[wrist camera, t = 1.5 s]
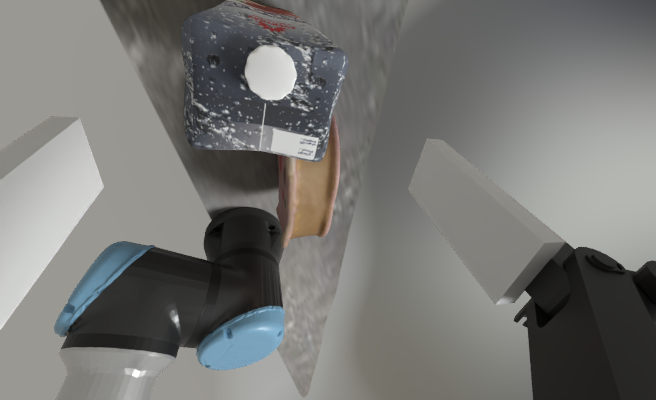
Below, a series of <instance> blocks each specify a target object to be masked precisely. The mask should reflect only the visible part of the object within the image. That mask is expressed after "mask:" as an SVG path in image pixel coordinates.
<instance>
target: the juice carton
mask: <svg viewBox="0 0 656 400" xmlns="http://www.w3.org/2000/svg"><path fill="white" fill-rule="evenodd" d="M181 46H182V54H183V60H184V66H185V73H186V81H185V95H184V127H185V134H186V137H187V140H188V142H189V144H190V145H191V147H193V148H197V149H208V150H252V151H263V152H269V153H274V154H278V155H283V156H287V157H291V158H295V159H300V160H304V161H310V162H320V161H321V160H322V159H323V157H324V155H325V153H326V150H327V146H328V140H329V133H330V127H331V120H332V115H333V111H334V108H335V104H336V101H337V98H338V95H339V93H340V90H341V87H342V84H343V81H344V78H345V75H346V72H347V68H348V57H347V54H346V53H345V52H344V51H343V50H342V49H340V48H339V47H338V46H336V45H335V44H334V43H333V42H332V41H330V40H329V39H328V38H327V37H326V36H324V35H323V34H322V33H321V32H320V31H319V30H317V29H316V28H315V27H313V26H312V25H310V24H309V23H307V22H306V21H304V20H303V19H301V18H300V17H298V16H297V15H295V14H294V13H292V12H290V11H287V10H284V9H280V8H274V7H268V6H264V5H261V4H258V3H255V2H252V1H250V0H226V1H224V2H222V3H221V4H219V5H217V6H216V7H214V8H211V9H208V10H205V11H201V12H198V13H195V14H192V15H190V16H189V17H188V18H186V19H185V21H184V23H183V24H182V29H181Z"/></svg>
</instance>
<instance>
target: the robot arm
mask: <svg viewBox="0 0 656 400" xmlns="http://www.w3.org/2000/svg"><path fill="white" fill-rule="evenodd" d="M103 188H104V186H103V183H102V180H101V177H100V175H99V172H98V169H97V166H96V163H95V160H94V157H93V155H92V152H91V149H90V146H89V143H88V140H87V137H86V135H85V132H84V129H83V127H82V123H81V120H80V118H72V117H56V116H51V117H50V118H48V119H47V120H46V121H44V122H42V123H41V124H39V125H38V126H36V127H35V128H33V129H32V130H30V131H29V132H27V133H26V134H24V135H23V136H21V137H20V138H18V139H17V140H15V141H14V142H12V143H11V144H9V145H8V146H6V147H5V148H3V149H2V150H0V330H1V328H2V327H3V326H4V324H5V323H6V321H7V320H8V319H9V317H10V316H11V315H12V313H13V312H14V310H15V309H16V308H17V306H18V305H19V304H20V302H21V301H22V299H23V298H24V297H25V295H26V294H27V292H28V291H29V290H30V288H31V287H32V286H33V284H34V283H35V281H36V280H37V279H38V277H39V276H40V275H41V273H42V272H43V270H44V269H45V268H46V266H47V265H48V264H49V262H50V261H51V259H52V258H53V257H54V255H55V254H56V252H57V251H58V250H59V248H60V247H61V246H62V244H63V243H64V241H65V240H66V239H67V237H68V236H69V235H70V233H71V232H72V230H73V229H74V228H75V226H76V225H77V223H78V222H79V221H80V219H81V218H82V217H83V215H84V214H85V212H86V211H87V210H88V208H89V207H90V206H91V204H92V203H93V202H94V200H95V199H96V197H97V196H98V195H99V193H100V192H101V191H102V189H103ZM408 190H409V192H410V193H411V194H412V196H413V197H414V198H415V200H416V201H417V202H418V204H419V205H420V206H421V207H422V209H423V210H424V211H425V213H426V214H427V215H428V217H429V218H430V219H431V221H432V222H433V223H434V225H435V226H436V227H437V228H438V230H439V231H440V232H441V234H442V235H443V236H444V238H445V239H446V240H447V242H448V243H449V244H450V245H451V247H452V248H453V250H454V251H455V252H456V253H457V255H458V256H459V257H460V259H461V260H462V261H463V263H464V264H465V265H466V267H467V268H468V269H469V271H470V272H471V273H472V275H473V276H474V277H475V279H476V280H477V281H478V282H479V284H480V285H481V286H482V288H483V289H484V290H485V292H486V293H487V294H488V296H489V297H490V298H491V300H492V301H493V302H494V303H495V305H499V304H507V303H515V301H516V300H517V299H518V298H519V296H520V295H521V294H522V293H523V292H524V291H526V292H527V293H528V294H529V295H530V296H531V297H532V298H531V299H530V300H529V301H528V303H527V304H526V305H525V306H524V307H523V308H522V309H521V310H520V311H519V313H518V314H517V315H516V316H515V318H514V321H515V322H518V321H519V320H520V319H521V318H522V317H527V320H526V321H525V322H524V323H523V326H525V327H527V328H528V338H529V351H530V362H531V363H530V364H531V376H532V388H533V400H656V261H649V262H647V263H646V264H644V265H643V266H642V267H641V268H640V269H639V270H638V271H637V272H634V271H629V270H625V268H624V267H623V266H622V265H621V264H619V263H618V262H617V261H615V260H614V259H612V258H611V257H609V256H607V255H606V254H603V253H601V252H599V251H597V250H594V249H590V248H587V247H578V248H576V249H574V248H572V247H571V246H570V245H569V244H568V243H566V241H565V240H563V239H562V238H561V237H560V236H558V235H557V234H556V233H555V232H553V231H552V230H551V229H550V228H549V227H547V226H546V225H545V224H544V223H542V222H541V221H540V220H539V219H538V218H537V217H535V216H534V215H533V214H532V213H530V212H529V211H528V210H527V209H526V208H524V207H523V206H522V205H521V204H519V203H518V202H517V201H516V200H515V199H513V198H512V197H511V196H510V195H508V194H507V193H506V192H505V191H504V190H502V189H501V188H500V187H499V186H498V185H496V184H495V183H494V182H493V181H491V180H490V179H489V178H488V177H487V176H485V175H484V174H483V173H482V172H480V171H479V170H478V169H477V168H476V167H474V166H473V165H472V164H471V163H470V162H468V161H467V160H466V159H465V158H463V157H462V156H461V155H460V154H458V153H457V152H456V151H455V150H454V149H452V148H451V147H450V146H449V145H448V144H446V143H445V142H444V141H443V140H438V139H427V140H426V143H425V145H424V148H423V151H422V154H421V156H420V159H419V162H418V164H417V167H416V170H415V172H414V175H413V178H412V181H411V183H410V186H409V189H408ZM282 235H283V233H282V227H281V225H280V222H279V221H278V219H277V218H275V217H274V216H273V215H271V214H270V213H268V212H265V211H263V210H260V209H255V208H237V209H232V210H229V211H226V212H224V213H222V214H220V215H218V216H217V217H216V218H214V219H213V220H212V221H211V222H210V224H209V225H208V227H207V229H206V232H205V238H204V250H205V253H206V256H207V260H203V259H199V258H195V257H191V256H187V255H183V254H179V253H176V252H172V251H168V250H164V249H160V248H157V247H155V246H153V245H150V246H147V245H141V244H136V243H131V242H126V241H124V242H117V243H114V244H112V245H110V246H109V247H108V248H106V249H105V250H104V251H103V252H102V253H101V254H100V255H99V257H98V258H97V259H96V260H95V262H94V263H93V264H92V266H91V267H90V268H89V269H88V271H87V272H86V274H85V275H84V277H83V278H82V279H81V281H80V282H79V284H78V285H77V287H76V288H75V290H74V291H73V293H72V295H71V296H70V298H69V300H68V303H67V304H66V306H65V307H64V309H63V311H62V312H61V313H60V315H59V317H58V319H57V321H56V323H55V326H54V331H55V333H56V334H59V335H60V337H65V336H67V338H66V340H65V342H64V344H63V346H62V348H61V350H60V352H59V355H60V357H61V359H62V361H63V362H64V364H65V366H66V368H67V376H66V378H65V380H64V383H63V385H62V387H61V389H60V391H59V393H58V396H57V398H56V400H150V396H151V393H152V390H153V386H154V383H155V380H156V378H157V377H158V375H159V374H160V373H161V372H163V371H164V370H165V369H166V368H168V367H169V366H170V365H171V364H173V363H174V362H175V359H176V356H177V352H178V349H179V347H188V348H197V353H196V355H197V357H198V361H199V362H200V364H201V365H203V366H205V367H206V368H209V369H213V370H228V369H235V368H240V367H243V366H247V365H250V364H252V363H254V362H257V361H259V360H261V359H263V358H265V357H266V356H268V355H269V354H271V353H272V352H273V351H274V350H275V349H276V348H277V347H278V346H279V344H280V343H281V341H282V339H283V336H284V315H285V312H284V309H283V302H282V293H281V284H280V275H279V263H280V260H281V257H282V253H283V250H284V248H282V247H281V237H282Z"/></svg>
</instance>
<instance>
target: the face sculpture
mask: <svg viewBox="0 0 656 400" xmlns="http://www.w3.org/2000/svg"><path fill="white" fill-rule="evenodd" d="M278 170H279V203H278V206H277V208H276V211H277V215H278V218H279V221H280V225H281V227H282V233H283V235H282V237H281V247H282V248H286V247H287V246H288V242H289V240H290V239H292V238H296V237H303V236H311V235H317V236H319V237H323V236H325V235H326V234H327V233H328V231H329V228H330V225H331V219H332V214H333V209H334V202H335V198H336V194H337V190H338V183H339V175H340V145H339V137H338V129H337V124H336V121H335V117H334V115H332V120H331V127H330V133H329V140H328V146H327V150H326V153H325V155H324V157H323V159H322V160H321V161H320V162H310V161H304V160H300V159H295V158H291V157H287V156H283V155H278Z"/></svg>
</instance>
